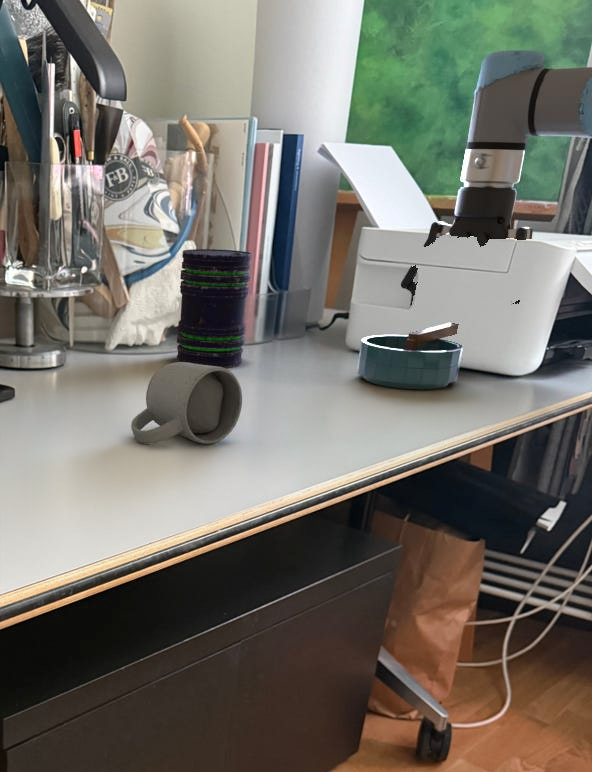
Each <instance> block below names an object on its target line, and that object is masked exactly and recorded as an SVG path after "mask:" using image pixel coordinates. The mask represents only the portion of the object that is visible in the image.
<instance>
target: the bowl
mask: <svg viewBox="0 0 592 772" xmlns="http://www.w3.org/2000/svg"><path fill="white" fill-rule="evenodd" d="M408 336H409V335H403V334H402V335H401V334H382V335H381V334H380V335H370V336H366V337H363V338H362V339H360V346H359V354H358V360H357V368H356V372H357V374H358V375H361V376H362V377H363V380H364V381H366V382H368V383H370V384H375V385H377V386H382V387H387V388H394V389H405V390H437V389H443V388H446V387H448V386H449V385H450V384H451V383H455V382H456V381H457V380H458V377H459V372H460V366H461V361H462V360H461V357H462V352H463V347H462V345H460V344H458V343H455V342H452V341H448V339H444V338H441V339H437V340H433V341H430V342H426V343H422V344H419V345H418V347H417V351H411V350H405V346H406V340H407V339H408Z"/></svg>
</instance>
